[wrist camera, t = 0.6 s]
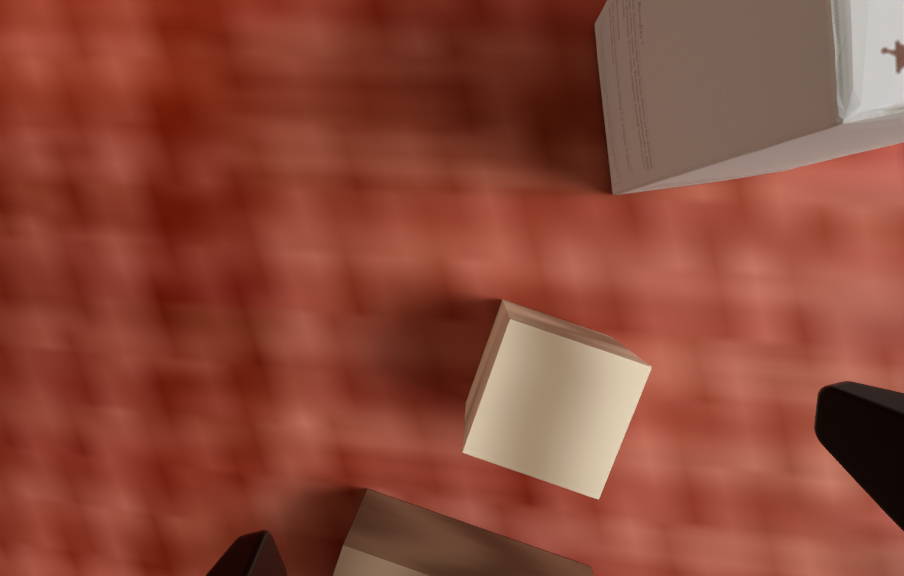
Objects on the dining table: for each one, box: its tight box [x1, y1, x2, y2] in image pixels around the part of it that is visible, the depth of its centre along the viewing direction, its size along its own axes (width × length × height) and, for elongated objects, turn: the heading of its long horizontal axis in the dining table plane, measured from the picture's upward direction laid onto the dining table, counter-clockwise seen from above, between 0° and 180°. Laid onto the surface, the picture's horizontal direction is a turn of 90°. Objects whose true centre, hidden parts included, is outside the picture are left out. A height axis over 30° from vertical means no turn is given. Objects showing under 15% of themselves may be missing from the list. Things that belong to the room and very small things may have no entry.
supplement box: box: [595, 0, 904, 195], centre depth 13 cm, size 7×7×13 cm
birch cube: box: [462, 299, 652, 500], centre depth 18 cm, size 5×5×5 cm
